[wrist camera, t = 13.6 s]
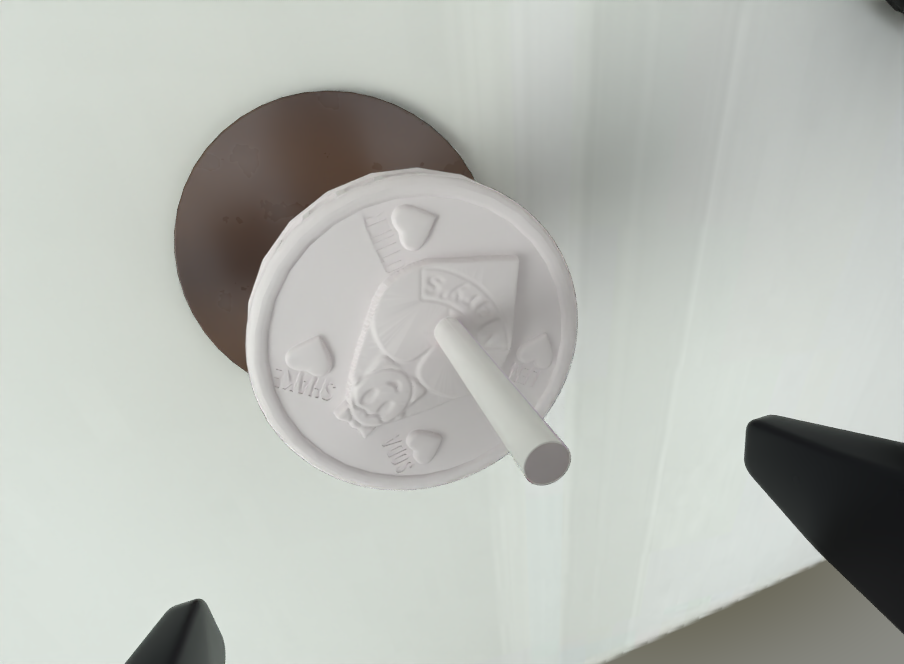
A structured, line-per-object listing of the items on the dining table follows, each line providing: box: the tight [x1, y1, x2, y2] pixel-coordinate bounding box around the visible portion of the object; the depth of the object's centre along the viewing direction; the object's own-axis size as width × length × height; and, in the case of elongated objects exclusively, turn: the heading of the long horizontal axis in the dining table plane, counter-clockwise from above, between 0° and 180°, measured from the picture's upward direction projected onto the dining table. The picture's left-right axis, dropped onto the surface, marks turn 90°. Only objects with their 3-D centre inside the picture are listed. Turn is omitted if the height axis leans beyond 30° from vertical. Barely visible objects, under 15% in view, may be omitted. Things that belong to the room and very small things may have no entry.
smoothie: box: [245, 168, 578, 490], centre depth 12 cm, size 6×6×14 cm
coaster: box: [174, 91, 475, 372], centre depth 18 cm, size 11×11×1 cm
